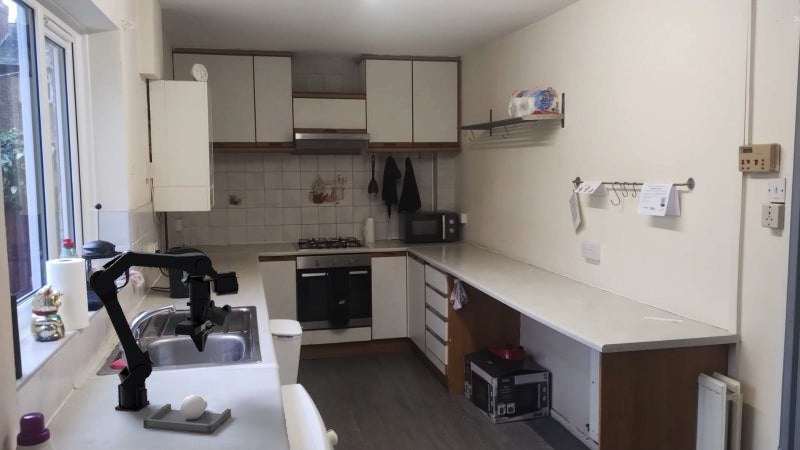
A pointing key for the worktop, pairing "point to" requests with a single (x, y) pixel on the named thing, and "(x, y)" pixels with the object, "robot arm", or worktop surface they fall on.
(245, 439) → the worktop surface
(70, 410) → the worktop surface
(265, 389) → the worktop surface
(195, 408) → the lightbulb
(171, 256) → the robot arm
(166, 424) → the tray
